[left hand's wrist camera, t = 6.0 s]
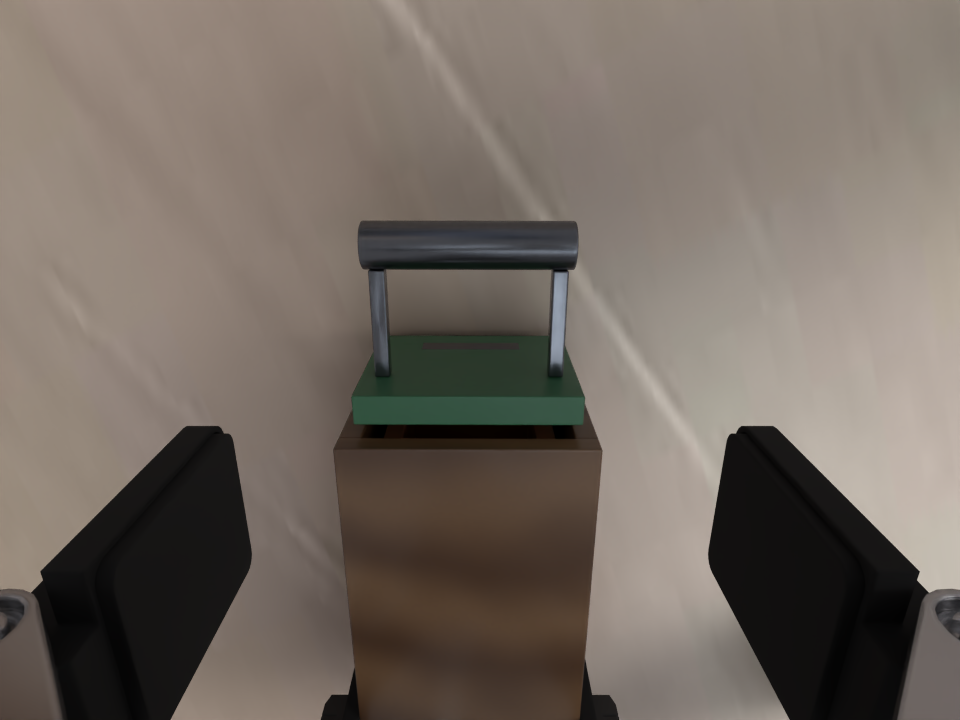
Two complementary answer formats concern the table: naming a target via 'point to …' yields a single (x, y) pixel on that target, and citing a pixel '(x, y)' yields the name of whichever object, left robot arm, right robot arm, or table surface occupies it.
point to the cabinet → (468, 571)
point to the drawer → (468, 337)
